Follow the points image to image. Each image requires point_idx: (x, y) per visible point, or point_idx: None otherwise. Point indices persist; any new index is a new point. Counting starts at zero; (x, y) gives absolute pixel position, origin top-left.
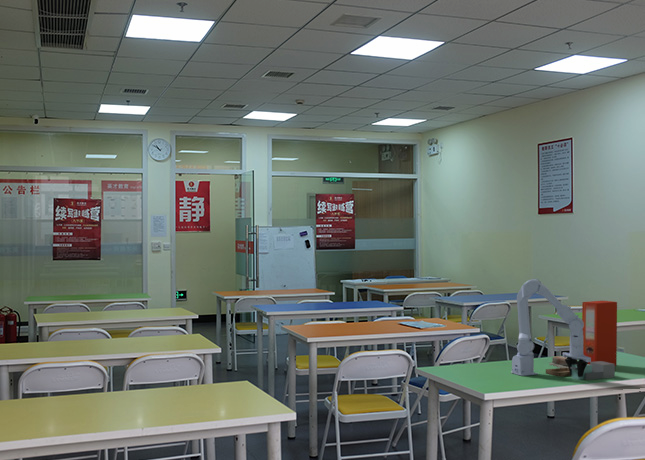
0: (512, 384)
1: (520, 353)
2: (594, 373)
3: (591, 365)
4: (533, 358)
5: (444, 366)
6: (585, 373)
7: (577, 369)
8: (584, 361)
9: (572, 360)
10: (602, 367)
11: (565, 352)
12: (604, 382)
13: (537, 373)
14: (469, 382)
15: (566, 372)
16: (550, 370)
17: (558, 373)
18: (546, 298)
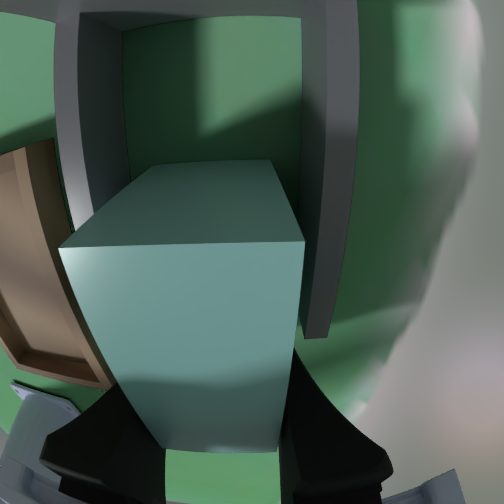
0: (232, 488)
1: None
2: (347, 193)
3: (302, 248)
4: (49, 476)
5: None
6: (313, 336)
7: None
8: (369, 497)
9: (144, 486)
10: None
11: (2, 498)
12: (453, 203)
13: (70, 406)
14: (184, 498)
15: (86, 335)
16: (40, 372)
17: (110, 385)
18: None
